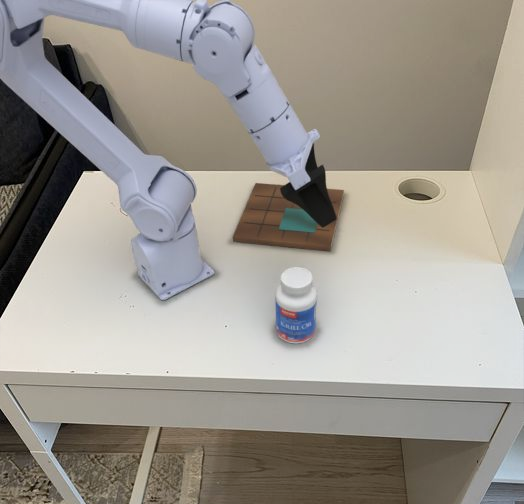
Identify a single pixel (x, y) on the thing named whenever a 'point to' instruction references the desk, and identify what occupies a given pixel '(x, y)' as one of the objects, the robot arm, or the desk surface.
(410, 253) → the desk surface
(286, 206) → the board
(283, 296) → the pill bottle
